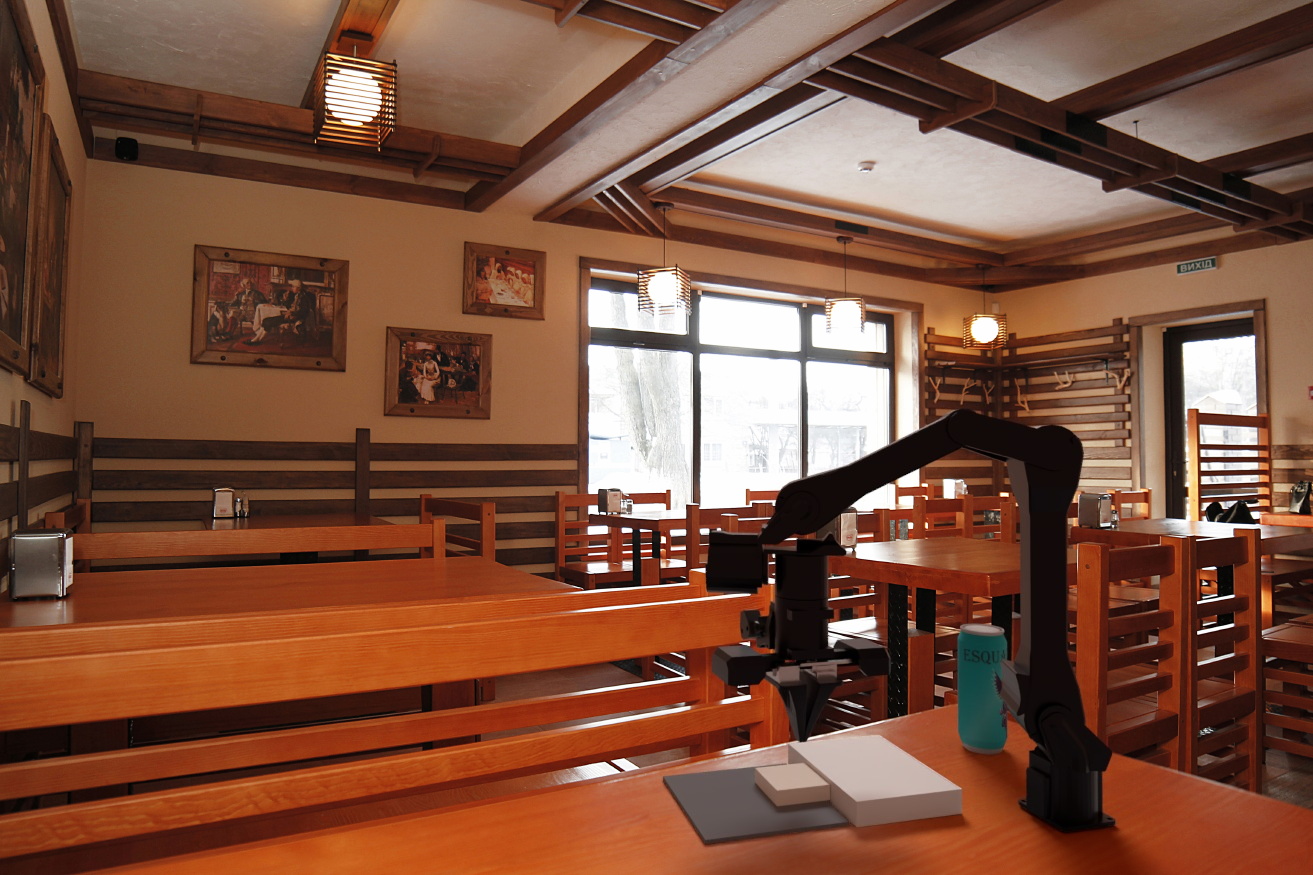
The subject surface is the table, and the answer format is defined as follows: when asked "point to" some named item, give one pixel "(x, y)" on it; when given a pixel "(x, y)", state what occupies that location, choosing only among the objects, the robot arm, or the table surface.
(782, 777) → the cream rectangular block
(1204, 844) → the table surface
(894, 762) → the light grey rectangular box
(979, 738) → the beverage can
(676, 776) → the charcoal mat
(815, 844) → the table surface
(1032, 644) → the robot arm
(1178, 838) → the table surface
